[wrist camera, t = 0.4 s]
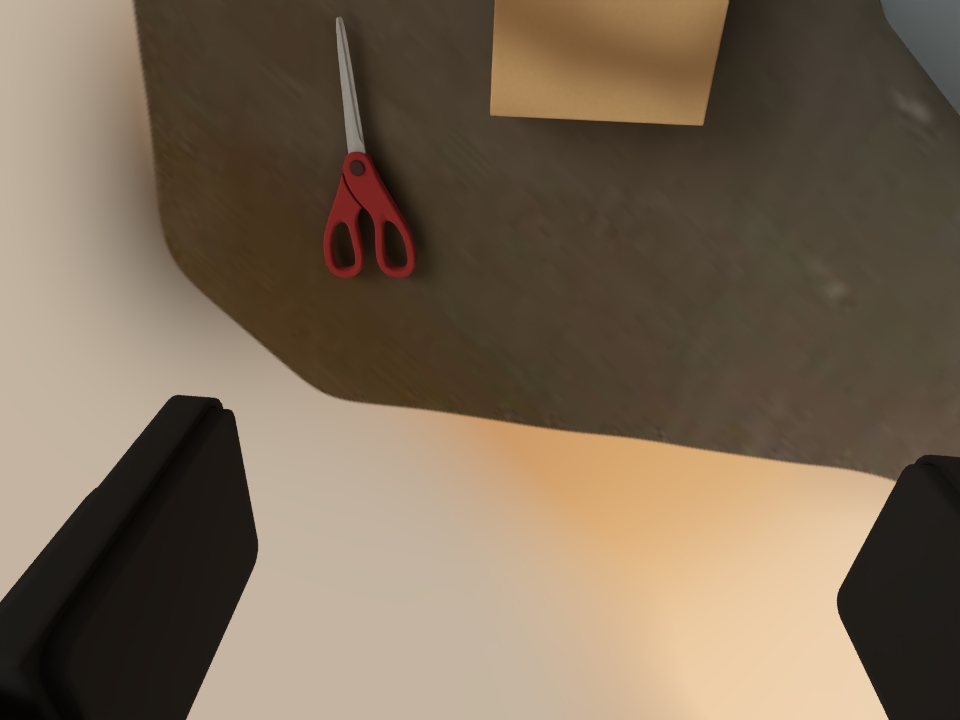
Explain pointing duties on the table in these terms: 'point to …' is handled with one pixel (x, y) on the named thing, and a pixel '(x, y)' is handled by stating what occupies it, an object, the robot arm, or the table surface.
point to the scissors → (361, 187)
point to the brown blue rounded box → (931, 39)
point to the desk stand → (606, 59)
